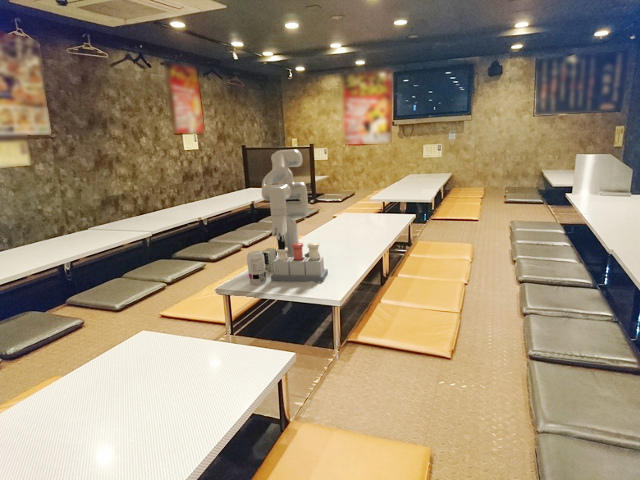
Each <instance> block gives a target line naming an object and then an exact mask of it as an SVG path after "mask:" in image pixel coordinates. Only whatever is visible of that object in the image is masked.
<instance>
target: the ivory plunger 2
mask: <svg viewBox="0 0 640 480" xmlns="http://www.w3.org/2000/svg"><path fill="white" fill-rule="evenodd" d="M319 247H320V243H319V242H310V243H307V248H308V252H309V255H310V261H319V255H320V253H319V254H318V252H319Z"/></svg>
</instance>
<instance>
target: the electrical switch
mask: <svg viewBox="0 0 640 480" xmlns="http://www.w3.org/2000/svg"><path fill="white" fill-rule="evenodd" d="M318 254H319V257H321V255H320V251H318ZM304 257H310V255H309V251H308V252H307V253H304Z"/></svg>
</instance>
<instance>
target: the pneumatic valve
mask: <svg viewBox="0 0 640 480" xmlns="http://www.w3.org/2000/svg"><path fill="white" fill-rule="evenodd" d="M276 249H277V248H274V247H273V248H269V247H268V248H265V249H264V250H261V252H262V253H263V254H264V260H265V271H266V272H272V271H274V262H273V261H274V260H275V259H277V258H278V252H276Z"/></svg>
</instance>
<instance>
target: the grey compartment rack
mask: <svg viewBox="0 0 640 480" xmlns="http://www.w3.org/2000/svg"><path fill="white" fill-rule="evenodd" d="M272 263H273V268H274V269H273V273H272V275H270V281H271V282H284V283H286V282H290V283H291V282H292V283H293V282H295V283H296V282H298V283H300V282H301V283H323V282H325V279H326V278H327V276H328V273H329V271H328V270H329V269H328V268H327V269H326V268H325V265H324V264H325V263H324V257H323V256H320V257H319V261H310V257H305V256H303V261H294V257H287V261H279V260H278V257H277V259H275V260H274V261H273V262H272Z"/></svg>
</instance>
